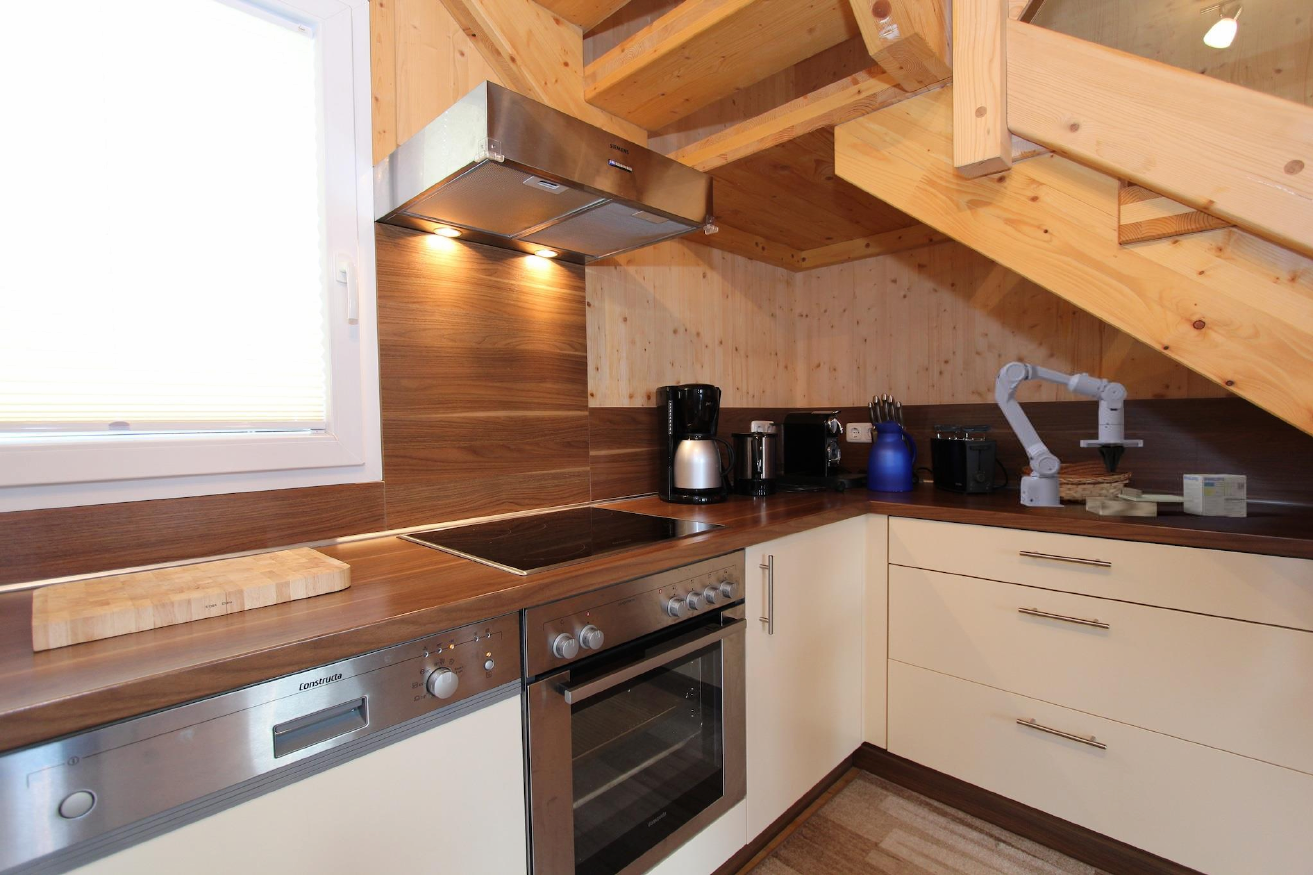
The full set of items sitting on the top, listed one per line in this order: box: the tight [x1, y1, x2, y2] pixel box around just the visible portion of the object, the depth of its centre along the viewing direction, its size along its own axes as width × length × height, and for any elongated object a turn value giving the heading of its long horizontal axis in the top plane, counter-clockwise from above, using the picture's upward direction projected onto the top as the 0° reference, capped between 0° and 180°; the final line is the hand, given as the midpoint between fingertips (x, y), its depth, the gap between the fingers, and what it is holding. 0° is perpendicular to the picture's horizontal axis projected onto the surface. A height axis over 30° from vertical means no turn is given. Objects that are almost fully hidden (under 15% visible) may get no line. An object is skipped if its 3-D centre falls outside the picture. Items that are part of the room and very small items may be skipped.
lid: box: [1117, 487, 1193, 503], centre depth 155 cm, size 12×10×3 cm
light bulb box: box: [1182, 473, 1247, 518], centre depth 154 cm, size 11×7×11 cm, turn 84°
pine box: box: [1085, 496, 1158, 517], centre depth 158 cm, size 12×10×4 cm
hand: (1111, 472), depth 169 cm, fingers closed
